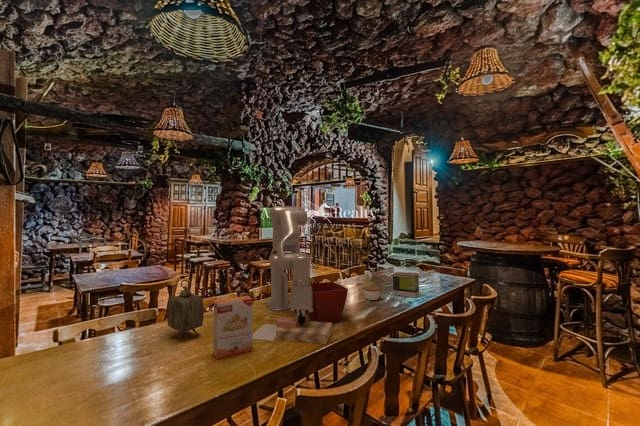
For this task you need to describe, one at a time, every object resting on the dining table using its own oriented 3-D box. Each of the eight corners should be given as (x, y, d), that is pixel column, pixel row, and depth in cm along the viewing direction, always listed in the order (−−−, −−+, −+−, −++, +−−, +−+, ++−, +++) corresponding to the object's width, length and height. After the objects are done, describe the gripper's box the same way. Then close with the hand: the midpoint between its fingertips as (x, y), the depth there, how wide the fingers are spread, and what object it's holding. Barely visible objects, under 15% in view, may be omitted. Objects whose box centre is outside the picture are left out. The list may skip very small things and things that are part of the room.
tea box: (419, 295, 201) (419, 273, 202) (415, 298, 193) (415, 275, 193) (397, 292, 209) (397, 271, 210) (392, 295, 201) (392, 273, 201)
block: (276, 327, 132) (276, 321, 132) (280, 322, 138) (280, 317, 138) (296, 328, 131) (296, 322, 131) (299, 323, 137) (299, 318, 137)
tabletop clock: (203, 336, 132) (203, 280, 132) (184, 343, 125) (184, 283, 125) (184, 329, 140) (185, 276, 141) (165, 336, 133) (166, 279, 133)
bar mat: (248, 339, 129) (248, 338, 129) (264, 324, 147) (264, 323, 147) (272, 341, 127) (272, 340, 127) (285, 326, 145) (285, 325, 145)
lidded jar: (362, 301, 187) (362, 286, 187) (364, 297, 197) (364, 282, 197) (379, 302, 183) (379, 287, 184) (381, 298, 194) (381, 283, 194)
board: (276, 339, 129) (276, 330, 129) (286, 327, 142) (286, 319, 142) (326, 344, 124) (326, 334, 124) (331, 331, 138) (331, 322, 138)
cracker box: (216, 360, 110) (217, 303, 110) (213, 354, 115) (213, 299, 116) (253, 351, 118) (253, 298, 118) (248, 345, 123) (248, 294, 123)
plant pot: (332, 311, 167) (332, 281, 168) (348, 322, 150) (348, 288, 150) (300, 315, 160) (300, 284, 160) (313, 327, 142) (313, 292, 143)
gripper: (283, 284, 132) (283, 326, 131) (316, 285, 129) (316, 328, 128) (288, 280, 139) (288, 320, 139) (319, 282, 136) (319, 322, 136)
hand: (301, 324), depth 134 cm, fingers closed
